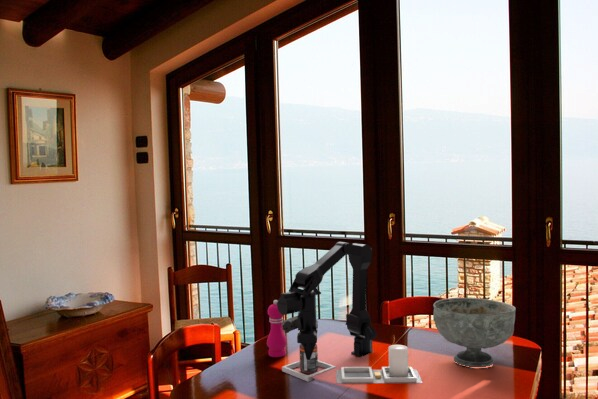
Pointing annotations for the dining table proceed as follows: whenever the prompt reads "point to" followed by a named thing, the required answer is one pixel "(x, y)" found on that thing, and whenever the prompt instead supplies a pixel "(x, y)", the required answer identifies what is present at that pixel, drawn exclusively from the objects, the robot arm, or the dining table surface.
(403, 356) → the white peg
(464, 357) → the decorative bowl
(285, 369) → the white square frame
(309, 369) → the supplement bottle
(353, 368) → the gray rectangular frame
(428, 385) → the dining table surface
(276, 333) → the pepper mill
